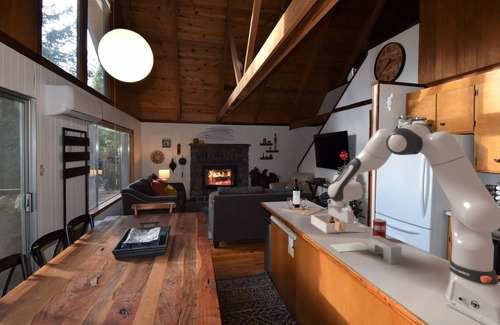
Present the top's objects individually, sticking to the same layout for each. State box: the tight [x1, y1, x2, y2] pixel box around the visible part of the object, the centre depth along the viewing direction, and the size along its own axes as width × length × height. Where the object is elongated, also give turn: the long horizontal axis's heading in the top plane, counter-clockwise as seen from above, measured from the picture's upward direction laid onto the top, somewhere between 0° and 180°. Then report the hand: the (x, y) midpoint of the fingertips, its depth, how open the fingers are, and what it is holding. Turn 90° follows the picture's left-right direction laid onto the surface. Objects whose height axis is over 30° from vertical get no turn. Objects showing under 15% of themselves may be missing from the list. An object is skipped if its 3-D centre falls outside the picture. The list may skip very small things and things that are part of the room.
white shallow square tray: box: [310, 213, 359, 234], centre depth 177 cm, size 23×23×6 cm
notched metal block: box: [367, 235, 403, 265], centre depth 128 cm, size 16×6×8 cm, turn 11°
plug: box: [335, 221, 367, 233], centre depth 139 cm, size 4×17×4 cm, turn 102°
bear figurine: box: [325, 216, 339, 224], centre depth 173 cm, size 14×15×12 cm
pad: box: [329, 241, 369, 253], centre depth 140 cm, size 10×20×1 cm, turn 101°
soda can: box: [372, 218, 387, 239], centre depth 152 cm, size 7×7×12 cm
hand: (339, 227), depth 138 cm, fingers closed on plug, 4 cm apart
